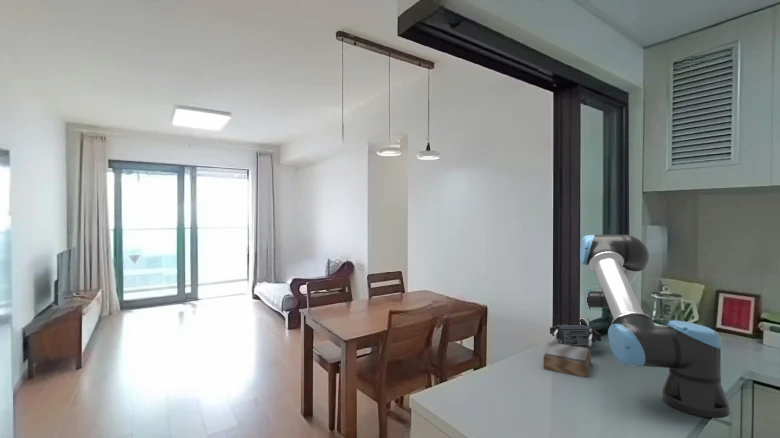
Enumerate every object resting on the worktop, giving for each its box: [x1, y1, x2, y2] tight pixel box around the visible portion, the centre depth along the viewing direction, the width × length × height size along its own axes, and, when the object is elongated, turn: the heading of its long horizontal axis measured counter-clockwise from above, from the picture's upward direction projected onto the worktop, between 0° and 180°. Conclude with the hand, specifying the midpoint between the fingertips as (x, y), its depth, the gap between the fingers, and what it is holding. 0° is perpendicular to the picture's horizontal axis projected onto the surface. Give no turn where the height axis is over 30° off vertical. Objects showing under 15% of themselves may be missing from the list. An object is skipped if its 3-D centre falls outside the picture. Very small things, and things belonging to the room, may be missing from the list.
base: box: [543, 342, 592, 378], centre depth 135 cm, size 14×14×6 cm
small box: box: [556, 324, 591, 351], centre depth 148 cm, size 11×6×10 cm, turn 84°
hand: (572, 339), depth 145 cm, fingers closed on small box, 12 cm apart
